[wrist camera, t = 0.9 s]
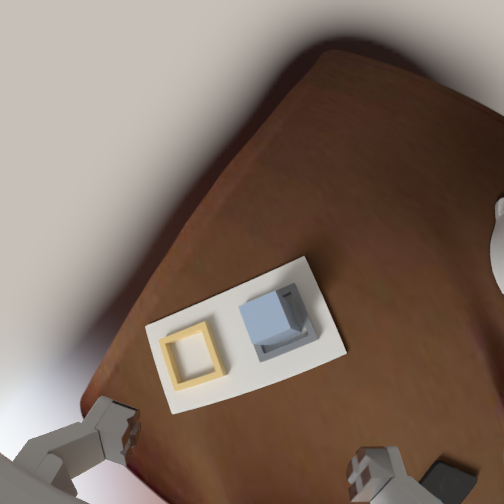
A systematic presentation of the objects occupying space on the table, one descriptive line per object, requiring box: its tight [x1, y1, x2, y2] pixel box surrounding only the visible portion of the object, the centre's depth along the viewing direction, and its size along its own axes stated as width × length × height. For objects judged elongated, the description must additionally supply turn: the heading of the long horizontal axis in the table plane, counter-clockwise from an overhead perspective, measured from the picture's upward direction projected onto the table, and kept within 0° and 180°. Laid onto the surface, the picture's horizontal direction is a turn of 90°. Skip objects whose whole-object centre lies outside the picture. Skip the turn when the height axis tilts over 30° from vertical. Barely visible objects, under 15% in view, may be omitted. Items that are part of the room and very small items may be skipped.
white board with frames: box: [145, 256, 347, 414], centre depth 38 cm, size 24×13×2 cm, turn 111°
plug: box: [238, 291, 301, 345], centre depth 34 cm, size 4×5×8 cm
